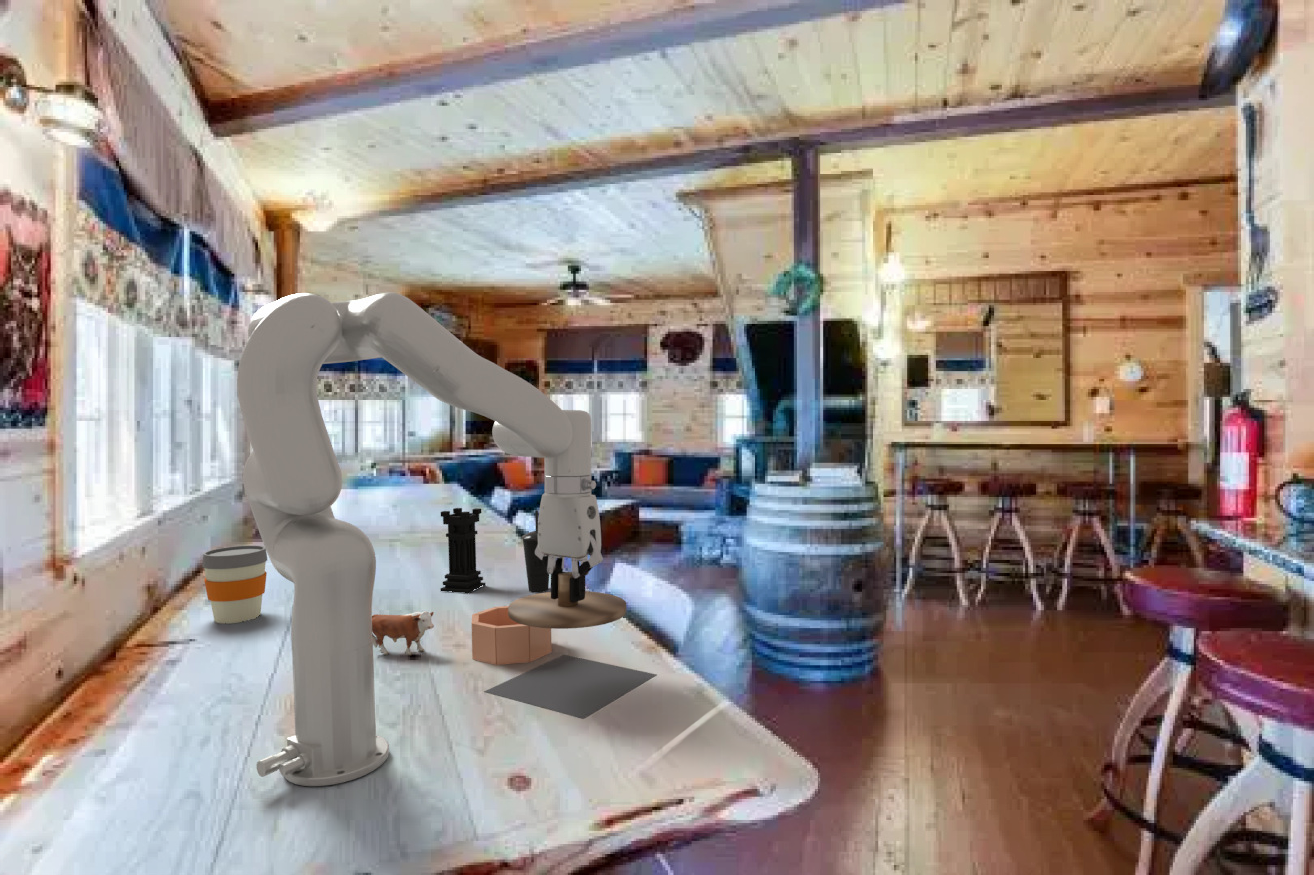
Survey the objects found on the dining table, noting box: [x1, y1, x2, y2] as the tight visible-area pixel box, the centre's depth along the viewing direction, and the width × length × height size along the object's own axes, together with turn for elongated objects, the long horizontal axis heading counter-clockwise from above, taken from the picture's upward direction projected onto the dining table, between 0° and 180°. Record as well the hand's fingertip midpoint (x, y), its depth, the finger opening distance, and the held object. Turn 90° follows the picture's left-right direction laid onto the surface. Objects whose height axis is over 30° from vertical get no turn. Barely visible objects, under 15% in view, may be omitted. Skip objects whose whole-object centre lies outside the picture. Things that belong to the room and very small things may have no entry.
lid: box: [508, 571, 627, 630], centre depth 119 cm, size 19×19×6 cm
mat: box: [483, 654, 658, 720], centre depth 120 cm, size 20×20×1 cm
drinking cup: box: [521, 509, 550, 593], centre depth 183 cm, size 8×8×20 cm
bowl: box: [471, 605, 553, 666], centre depth 137 cm, size 14×14×7 cm
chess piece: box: [440, 507, 486, 594], centre depth 186 cm, size 8×8×20 cm
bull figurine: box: [372, 610, 435, 656], centre depth 138 cm, size 4×13×8 cm, turn 78°
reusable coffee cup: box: [201, 544, 268, 624], centre depth 163 cm, size 13×13×15 cm
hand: (567, 598), depth 119 cm, fingers closed on lid, 3 cm apart
